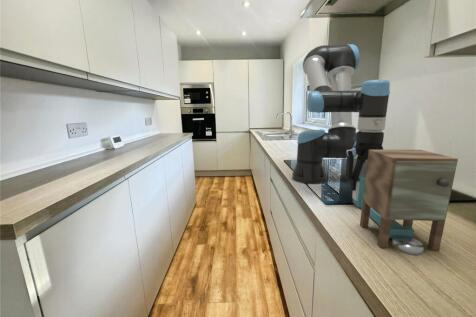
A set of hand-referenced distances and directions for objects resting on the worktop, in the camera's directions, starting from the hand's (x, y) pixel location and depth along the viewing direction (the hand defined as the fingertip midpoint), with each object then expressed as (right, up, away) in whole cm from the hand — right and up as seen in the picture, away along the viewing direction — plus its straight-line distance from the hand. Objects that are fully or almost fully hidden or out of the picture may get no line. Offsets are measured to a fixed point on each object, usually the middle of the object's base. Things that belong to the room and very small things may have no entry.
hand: (362, 199), depth 76 cm
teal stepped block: (-1, -4, -9) cm, 10 cm away
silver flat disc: (-2, -7, -23) cm, 24 cm away
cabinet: (-2, -6, -18) cm, 19 cm away
